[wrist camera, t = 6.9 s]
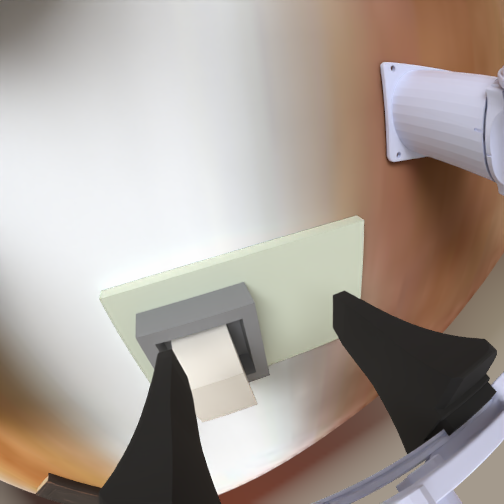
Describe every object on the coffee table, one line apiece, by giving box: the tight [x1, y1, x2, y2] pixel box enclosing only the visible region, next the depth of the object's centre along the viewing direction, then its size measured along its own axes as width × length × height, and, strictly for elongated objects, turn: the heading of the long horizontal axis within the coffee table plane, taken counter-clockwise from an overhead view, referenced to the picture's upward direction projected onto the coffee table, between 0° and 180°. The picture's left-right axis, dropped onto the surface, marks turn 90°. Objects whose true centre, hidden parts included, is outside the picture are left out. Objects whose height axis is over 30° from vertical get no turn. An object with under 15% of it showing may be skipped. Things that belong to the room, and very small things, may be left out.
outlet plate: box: [99, 215, 364, 383], centre depth 22 cm, size 20×12×4 cm, turn 100°
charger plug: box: [171, 324, 257, 422], centre depth 19 cm, size 4×4×6 cm
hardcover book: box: [36, 473, 101, 504], centre depth 36 cm, size 16×23×2 cm
